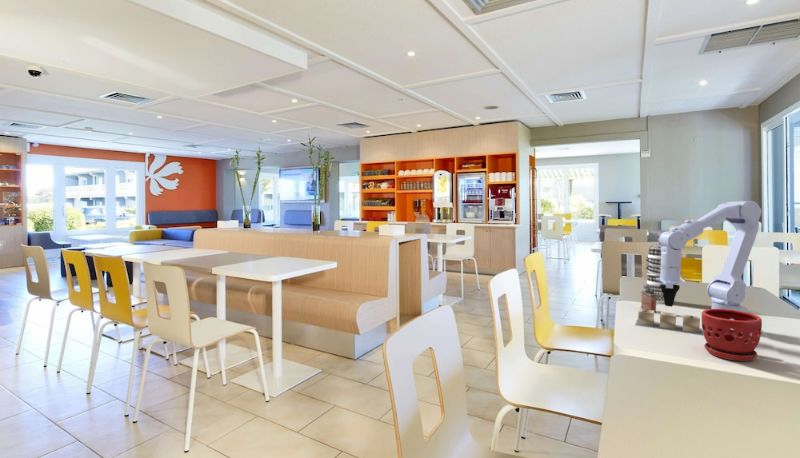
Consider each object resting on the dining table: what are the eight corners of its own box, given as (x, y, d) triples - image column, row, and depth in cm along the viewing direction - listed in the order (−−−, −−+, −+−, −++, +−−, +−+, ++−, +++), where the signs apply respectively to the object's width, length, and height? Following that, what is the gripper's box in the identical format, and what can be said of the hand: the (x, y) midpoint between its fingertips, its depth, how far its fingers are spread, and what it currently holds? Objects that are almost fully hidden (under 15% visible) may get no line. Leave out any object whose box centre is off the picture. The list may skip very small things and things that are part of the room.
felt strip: (701, 329, 140) (701, 328, 140) (702, 336, 133) (702, 335, 132) (637, 320, 151) (637, 319, 151) (634, 326, 143) (634, 325, 143)
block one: (698, 329, 138) (699, 316, 138) (699, 333, 135) (700, 319, 134) (682, 327, 141) (683, 314, 141) (682, 330, 137) (683, 317, 137)
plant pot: (701, 344, 125) (703, 305, 124) (758, 354, 116) (761, 313, 116) (698, 356, 115) (700, 314, 114) (760, 368, 106) (763, 323, 106)
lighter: (658, 313, 161) (659, 288, 160) (649, 313, 161) (650, 288, 160) (646, 308, 169) (647, 284, 168) (638, 308, 169) (639, 284, 168)
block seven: (653, 323, 146) (654, 310, 146) (652, 326, 142) (653, 313, 142) (639, 321, 148) (639, 308, 148) (637, 324, 145) (638, 311, 144)
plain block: (675, 326, 142) (676, 313, 142) (675, 329, 138) (676, 316, 138) (660, 324, 145) (660, 311, 144) (659, 327, 141) (660, 314, 141)
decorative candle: (639, 299, 186) (641, 244, 185) (655, 297, 189) (657, 243, 188) (657, 303, 178) (660, 246, 176) (673, 302, 180) (676, 245, 179)
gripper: (657, 263, 149) (656, 300, 149) (655, 268, 137) (654, 308, 137) (681, 264, 145) (679, 303, 145) (681, 270, 133) (679, 311, 133)
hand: (668, 305), depth 141 cm, fingers closed
